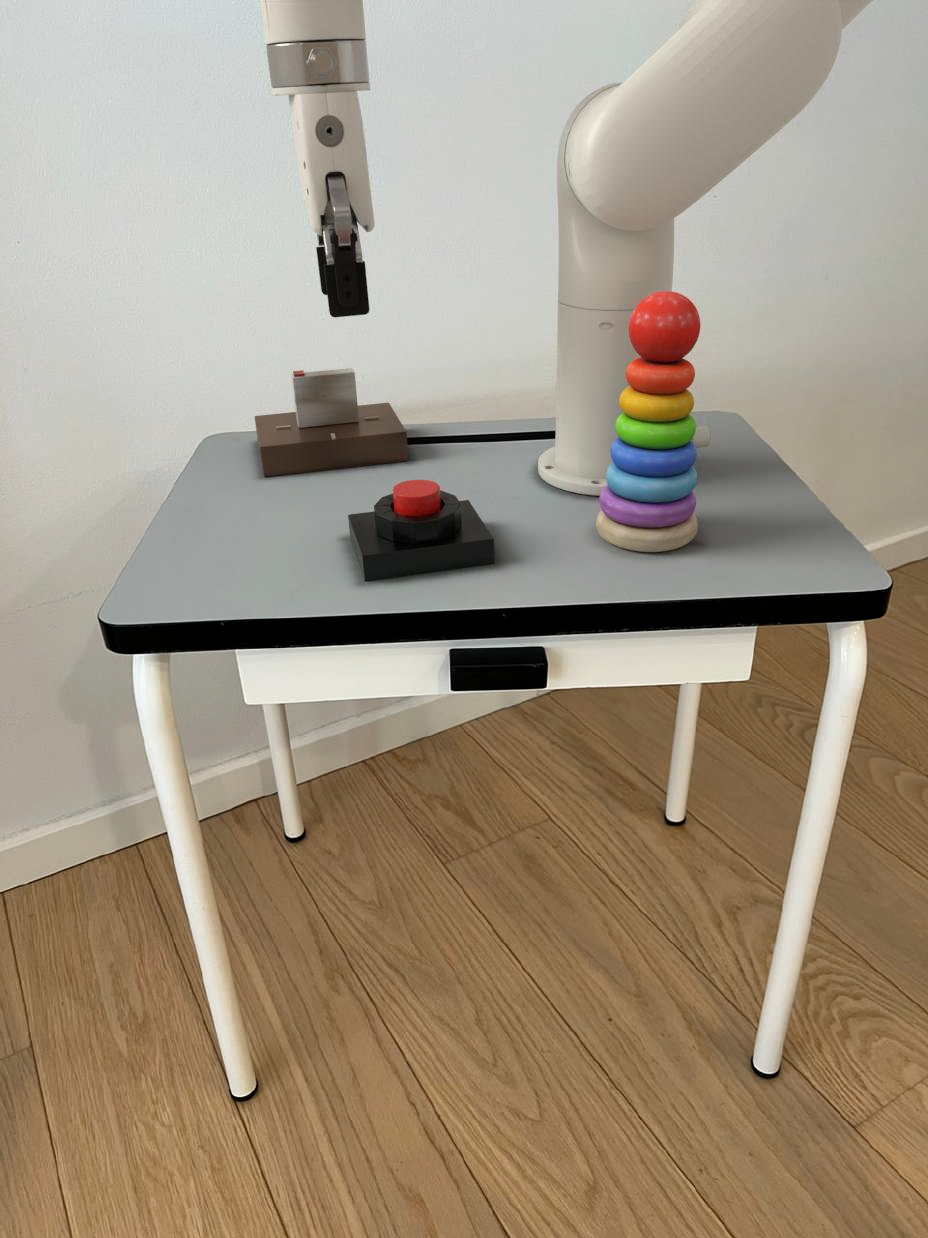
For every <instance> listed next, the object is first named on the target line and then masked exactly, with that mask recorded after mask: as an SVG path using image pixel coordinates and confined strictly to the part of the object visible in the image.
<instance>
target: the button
mask: <svg viewBox="0 0 928 1238" xmlns="http://www.w3.org/2000/svg"><path fill="white" fill-rule="evenodd" d="M440 490H441V486H440V484H439V483H437V482H435V481H433V480H429V479H410V480H409V479H408V480H405V481H402V482H399V483H397V484H395V485H394V486H393V489H392V493H393V500H394V511H395V512H396V513H398V514H401V515H409V516H421V515H429V514H432V513H435V512H437V511H440V509H441V498H440Z"/></svg>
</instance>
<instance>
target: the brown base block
mask: <svg viewBox="0 0 928 1238" xmlns="http://www.w3.org/2000/svg"><path fill="white" fill-rule="evenodd" d="M358 416H359V422H353V423H343V424H334V425H324V426H314V427H305V428H298V424H297V418H296V411H291V412H281V413H280V412H279V413H271V414H261V415H254V423H255V430H256V439H257V444H258V450H259V456H260V463H261V468H262V474H263V477H264V478H267V477H275V476H285V475H286V476H287V475H292V474H303V473H304V474H305V473H312V472H320V471H329V470H338V469H346V468H348V469H349V468H357V467H364V466H365V467H366V466H374V465H382V464H383V465H384V464H392V463H401V462H409V447H408V446H409V445H408V433H407V430H406V428H405V427H404V424H402V422H401V420H400V419H399V417H398V415H397V413H396V412H395V410H394V408H393V407H392V405H391V404H390V402H380V403H371V404H361V405H358Z"/></svg>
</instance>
